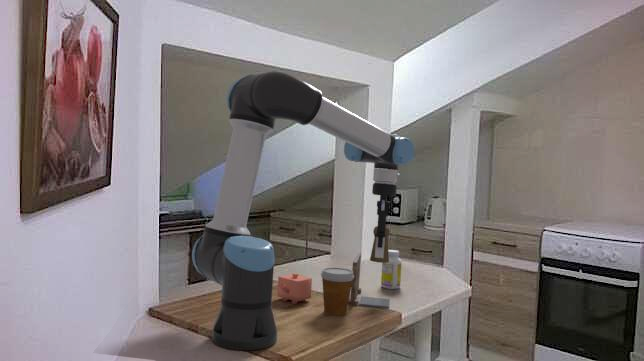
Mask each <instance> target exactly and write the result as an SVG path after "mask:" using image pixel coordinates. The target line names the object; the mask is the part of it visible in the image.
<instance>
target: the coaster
mask: <svg viewBox="0 0 644 361" xmlns="http://www.w3.org/2000/svg"><path fill="white" fill-rule="evenodd" d="M358 306H359V307H369V308H378V309H390V298H386V297H385V298H383V297H373V296H365V295H362V296H360V298H359V301H358Z"/></svg>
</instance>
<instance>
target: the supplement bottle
mask: <svg viewBox="0 0 644 361" xmlns="http://www.w3.org/2000/svg"><path fill="white" fill-rule="evenodd" d="M388 253H389V262H387V263H382V264H381V266H382V267H381V279H380V282H381V284H380V286H381V287H382V288H384V289H388V290H398V289H400V288H401V278H402V263H403V262H402V259H401V258H399V256H400V250H397V249H396V250H395V249H388Z"/></svg>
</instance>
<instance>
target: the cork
mask: <svg viewBox="0 0 644 361" xmlns="http://www.w3.org/2000/svg"><path fill="white" fill-rule="evenodd" d="M377 227H378V225H377V226H375V227H374V228H373V235H374V234H376V233H377ZM390 234H391V230H390V228H389V227H388V226H385V244H384V257H383V258H375V247H376V237H374V239H373V244H372V248H371V253H370V258H369V261H370V262H374V263H387V262H389V253H388V250H389V239H388V238H389V236H390Z"/></svg>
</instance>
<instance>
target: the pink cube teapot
mask: <svg viewBox="0 0 644 361" xmlns="http://www.w3.org/2000/svg"><path fill="white" fill-rule="evenodd" d="M312 282H313V277H307V276H304V275H299V273H297V272H293V273H289V274H285V275H279V276H278V278H277V294H276V295H277V296H276V297H279V298H282V299H281V300H282V301H284V302H285V301H286V302H287V301H288V300H289V301H291V304H295V305H296V304H298V302H306V300H308V299H312V286H313V285H312V284H313V283H312Z"/></svg>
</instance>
